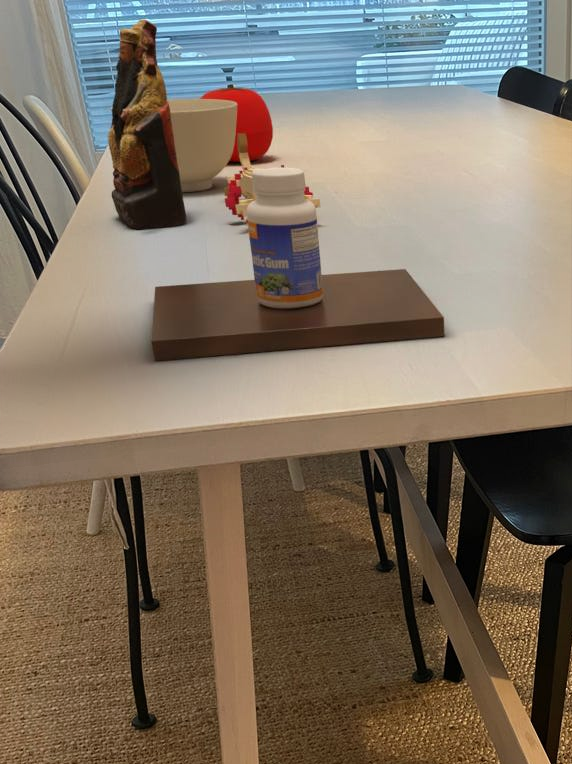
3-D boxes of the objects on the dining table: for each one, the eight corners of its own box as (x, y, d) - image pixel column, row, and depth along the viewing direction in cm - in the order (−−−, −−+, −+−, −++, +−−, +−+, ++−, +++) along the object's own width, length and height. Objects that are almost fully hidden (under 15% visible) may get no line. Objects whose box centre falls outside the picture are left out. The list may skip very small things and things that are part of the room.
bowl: (248, 196, 128) (237, 109, 123) (121, 201, 126) (104, 113, 120) (247, 176, 141) (236, 97, 136) (131, 181, 139) (116, 100, 133)
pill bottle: (243, 303, 80) (225, 172, 74) (290, 289, 84) (275, 163, 78) (292, 313, 77) (276, 179, 72) (338, 298, 81) (326, 169, 76)
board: (154, 361, 73) (150, 341, 72) (158, 304, 86) (154, 286, 85) (444, 336, 77) (444, 317, 76) (406, 285, 90) (405, 268, 89)
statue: (114, 215, 119) (74, 19, 107) (181, 209, 121) (149, 17, 110) (124, 234, 109) (82, 22, 98) (197, 228, 112) (164, 21, 101)
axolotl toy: (210, 212, 126) (244, 233, 105) (198, 135, 121) (230, 142, 101) (287, 206, 129) (334, 225, 108) (278, 131, 124) (325, 136, 104)
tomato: (268, 166, 149) (259, 87, 143) (192, 167, 149) (179, 88, 143) (283, 154, 159) (275, 80, 153) (211, 155, 159) (200, 81, 153)
